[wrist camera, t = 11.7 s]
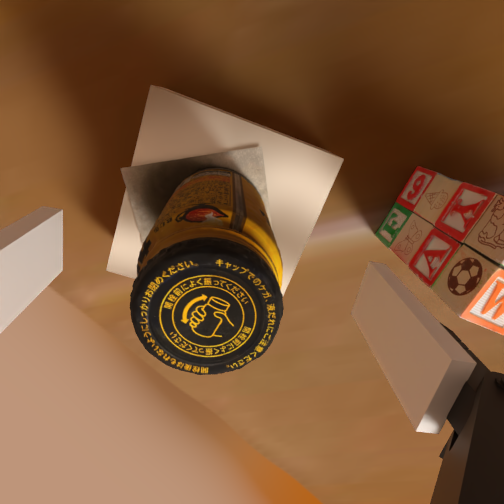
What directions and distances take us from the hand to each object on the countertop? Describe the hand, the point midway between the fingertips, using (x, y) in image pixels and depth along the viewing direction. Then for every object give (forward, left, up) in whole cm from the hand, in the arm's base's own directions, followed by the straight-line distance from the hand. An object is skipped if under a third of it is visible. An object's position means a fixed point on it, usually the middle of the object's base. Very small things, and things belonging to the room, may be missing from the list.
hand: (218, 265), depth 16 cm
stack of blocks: (+1, +23, -13) cm, 27 cm away
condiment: (0, -1, -8) cm, 8 cm away
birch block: (0, 0, -13) cm, 13 cm away
